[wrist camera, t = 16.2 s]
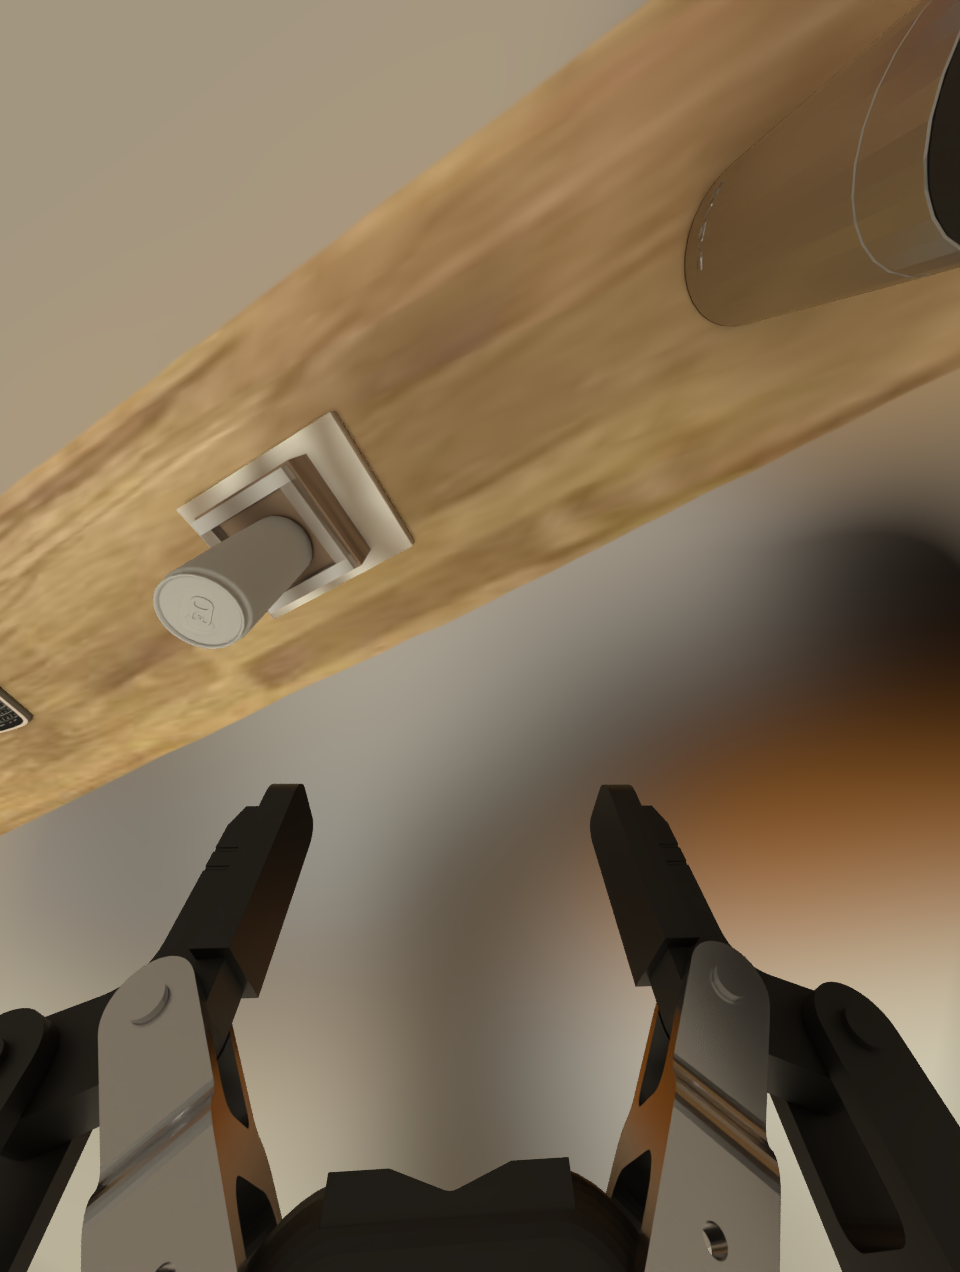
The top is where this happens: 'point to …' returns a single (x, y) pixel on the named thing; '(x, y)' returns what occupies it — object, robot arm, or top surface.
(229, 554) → the beverage can
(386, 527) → the pedestal base
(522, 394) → the top surface
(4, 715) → the cell phone
